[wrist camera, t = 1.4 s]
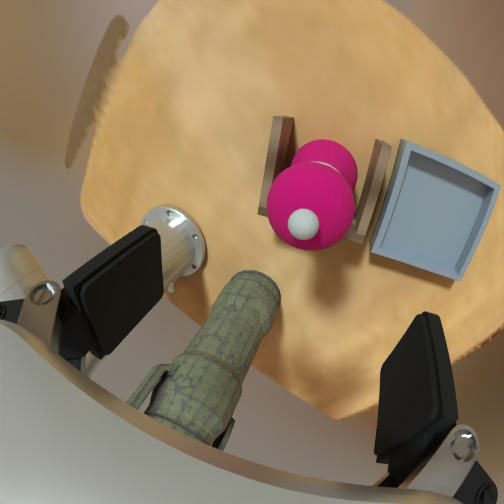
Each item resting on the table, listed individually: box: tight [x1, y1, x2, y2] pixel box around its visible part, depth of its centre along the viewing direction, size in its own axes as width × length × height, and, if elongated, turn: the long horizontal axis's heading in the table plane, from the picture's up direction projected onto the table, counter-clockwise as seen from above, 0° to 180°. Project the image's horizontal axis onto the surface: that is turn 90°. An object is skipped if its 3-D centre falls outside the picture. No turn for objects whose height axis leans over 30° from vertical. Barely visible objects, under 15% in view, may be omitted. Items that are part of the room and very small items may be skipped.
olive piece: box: [126, 270, 281, 451], centre depth 29 cm, size 9×12×35 cm
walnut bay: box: [258, 116, 392, 244], centre depth 29 cm, size 11×12×6 cm
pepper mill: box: [266, 139, 358, 251], centre depth 23 cm, size 7×7×20 cm
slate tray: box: [370, 139, 501, 282], centre depth 27 cm, size 14×14×3 cm
